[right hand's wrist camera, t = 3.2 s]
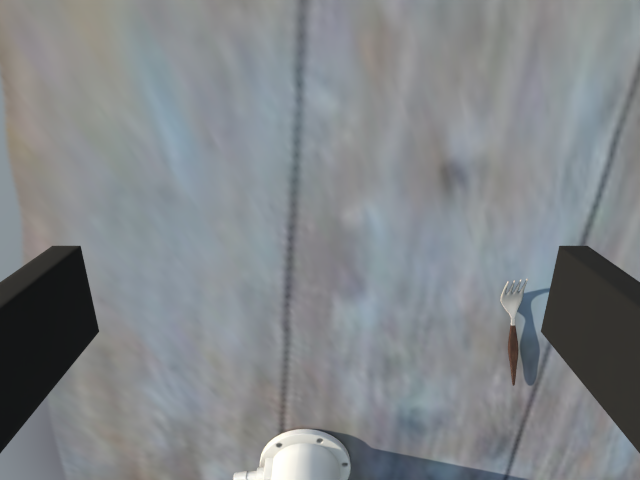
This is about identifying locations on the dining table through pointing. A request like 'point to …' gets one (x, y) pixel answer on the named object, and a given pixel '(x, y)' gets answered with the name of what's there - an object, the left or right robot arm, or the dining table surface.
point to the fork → (512, 322)
